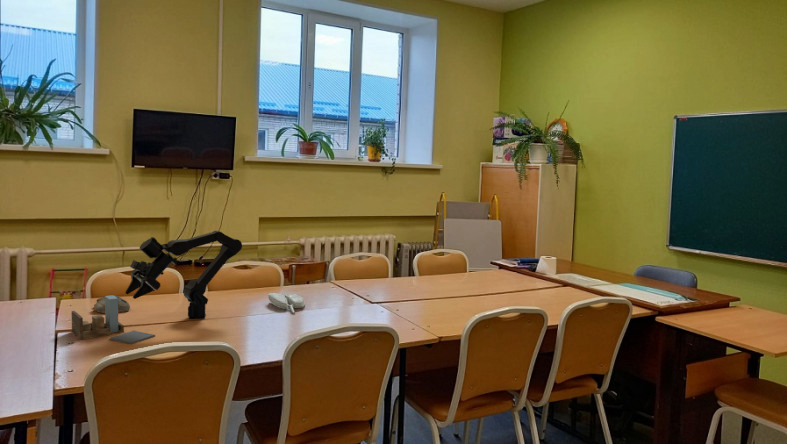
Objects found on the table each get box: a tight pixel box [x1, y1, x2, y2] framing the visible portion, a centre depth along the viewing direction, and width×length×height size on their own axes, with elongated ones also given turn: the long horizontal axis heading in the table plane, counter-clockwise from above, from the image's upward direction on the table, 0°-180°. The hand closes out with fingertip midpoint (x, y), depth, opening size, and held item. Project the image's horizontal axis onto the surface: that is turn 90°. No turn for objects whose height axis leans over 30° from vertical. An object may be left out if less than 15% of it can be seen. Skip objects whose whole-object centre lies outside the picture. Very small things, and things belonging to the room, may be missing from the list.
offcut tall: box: [91, 314, 105, 330], centre depth 220 cm, size 3×5×6 cm, turn 41°
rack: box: [71, 310, 125, 340], centre depth 220 cm, size 15×12×8 cm
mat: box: [108, 330, 156, 345], centre depth 215 cm, size 11×11×1 cm
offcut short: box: [83, 320, 91, 332], centre depth 217 cm, size 3×5×4 cm, turn 41°
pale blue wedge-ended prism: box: [104, 294, 119, 333], centre depth 223 cm, size 3×6×13 cm, turn 41°
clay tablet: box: [93, 295, 131, 314], centre depth 257 cm, size 14×5×20 cm
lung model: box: [267, 292, 306, 314], centre depth 268 cm, size 7×17×25 cm
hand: (129, 295), depth 227 cm, fingers open, 9 cm apart
